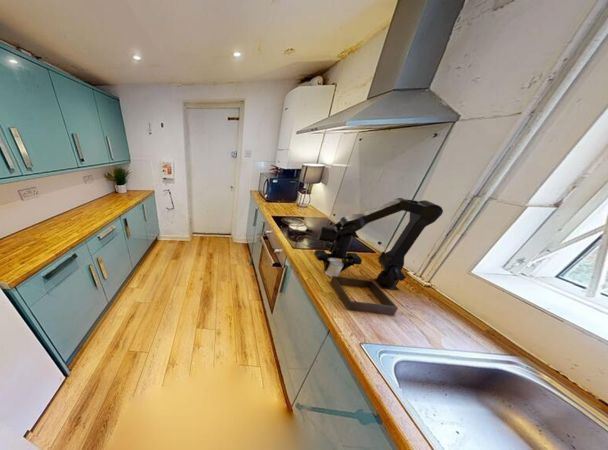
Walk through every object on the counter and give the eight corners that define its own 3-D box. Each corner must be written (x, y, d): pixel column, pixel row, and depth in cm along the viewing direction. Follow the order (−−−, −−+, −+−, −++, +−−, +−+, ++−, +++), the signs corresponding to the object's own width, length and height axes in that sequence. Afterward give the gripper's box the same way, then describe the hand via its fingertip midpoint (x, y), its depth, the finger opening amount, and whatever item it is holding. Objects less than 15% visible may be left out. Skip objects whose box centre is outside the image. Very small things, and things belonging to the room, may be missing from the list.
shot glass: (341, 279, 93) (346, 267, 90) (326, 277, 94) (330, 265, 91) (336, 270, 99) (340, 259, 96) (321, 268, 100) (325, 257, 97)
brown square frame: (369, 287, 89) (372, 280, 87) (393, 315, 74) (398, 307, 73) (330, 282, 90) (332, 275, 89) (346, 309, 76) (350, 302, 75)
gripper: (354, 237, 96) (344, 263, 102) (314, 233, 98) (306, 260, 104) (368, 249, 86) (356, 277, 92) (322, 245, 88) (314, 273, 94)
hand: (332, 271), depth 96 cm, fingers closed on shot glass, 6 cm apart
